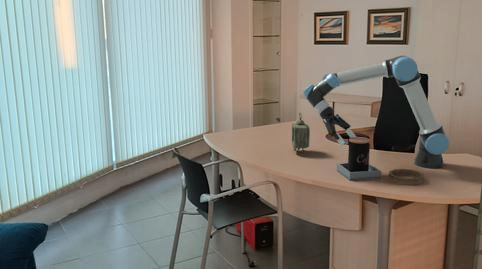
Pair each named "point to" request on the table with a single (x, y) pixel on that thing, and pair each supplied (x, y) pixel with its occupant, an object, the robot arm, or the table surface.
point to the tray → (370, 174)
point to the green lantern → (300, 135)
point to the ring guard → (406, 180)
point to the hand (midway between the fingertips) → (349, 141)
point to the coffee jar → (358, 154)
